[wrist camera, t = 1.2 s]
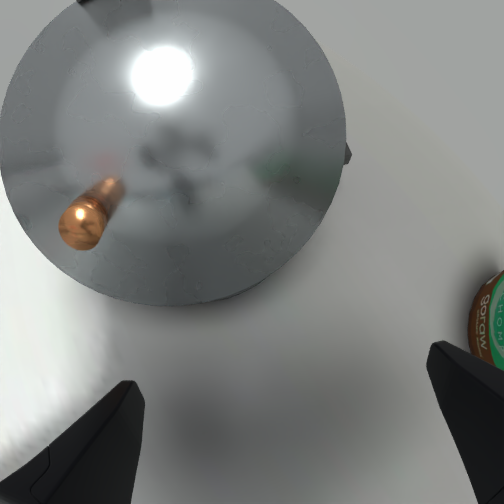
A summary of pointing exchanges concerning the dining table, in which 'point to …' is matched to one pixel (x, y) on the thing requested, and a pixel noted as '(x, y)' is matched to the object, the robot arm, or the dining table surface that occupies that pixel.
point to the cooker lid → (172, 145)
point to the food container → (488, 322)
